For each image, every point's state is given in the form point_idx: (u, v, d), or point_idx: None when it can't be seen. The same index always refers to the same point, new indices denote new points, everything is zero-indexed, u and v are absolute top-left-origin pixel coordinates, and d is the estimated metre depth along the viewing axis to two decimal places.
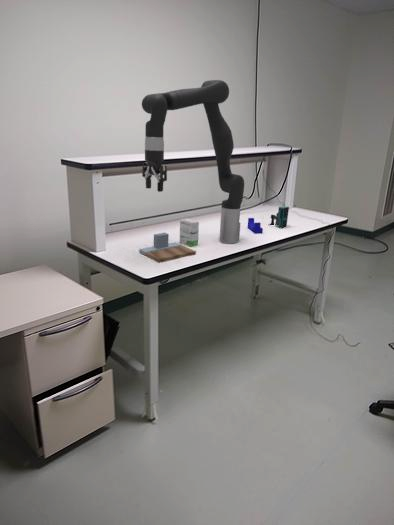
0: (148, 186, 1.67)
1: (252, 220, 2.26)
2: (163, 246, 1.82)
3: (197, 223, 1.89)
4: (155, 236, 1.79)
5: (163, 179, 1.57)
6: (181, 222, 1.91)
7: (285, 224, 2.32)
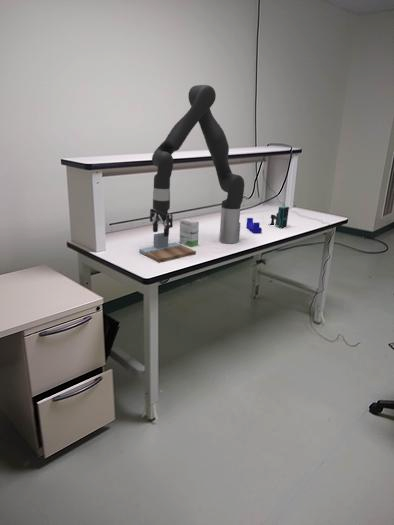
0: (155, 230, 1.83)
1: (251, 220, 2.25)
2: (163, 246, 1.82)
3: (197, 223, 1.89)
4: (155, 236, 1.79)
5: (169, 226, 1.74)
6: (181, 222, 1.91)
7: (285, 224, 2.32)
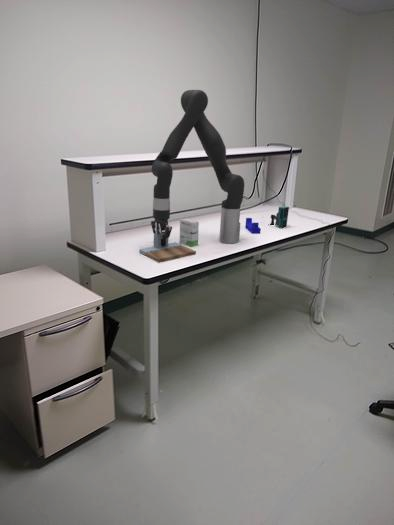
0: None
1: (250, 220, 2.25)
2: (163, 246, 1.82)
3: (197, 223, 1.89)
4: (155, 236, 1.79)
5: (166, 236, 1.77)
6: (181, 222, 1.91)
7: (285, 224, 2.32)
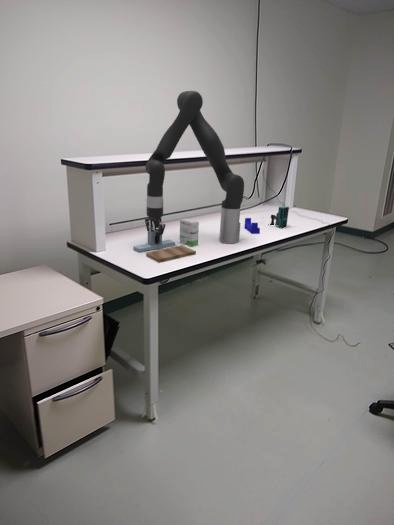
0: None
1: (249, 220, 2.25)
2: None
3: (197, 223, 1.89)
4: (149, 233, 1.83)
5: (159, 234, 1.81)
6: (181, 222, 1.91)
7: (285, 224, 2.32)
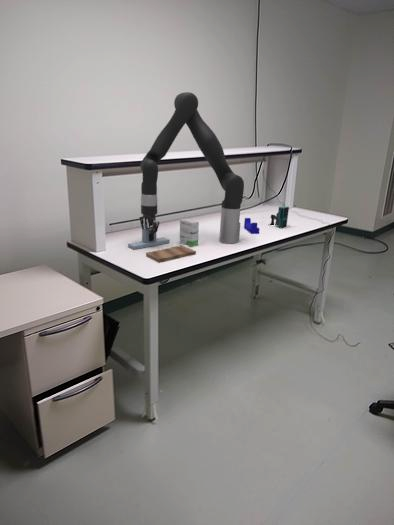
0: None
1: (248, 220, 2.25)
2: (151, 241, 1.89)
3: (197, 223, 1.89)
4: (143, 231, 1.86)
5: (154, 231, 1.84)
6: (181, 222, 1.91)
7: (285, 224, 2.32)
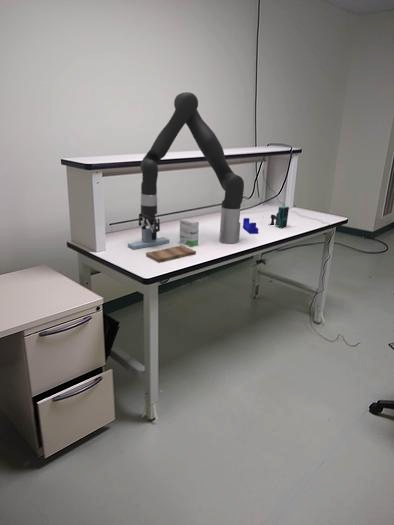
0: None
1: (247, 220, 2.25)
2: (151, 241, 1.89)
3: (197, 223, 1.89)
4: (143, 231, 1.86)
5: (156, 230, 1.82)
6: (181, 222, 1.91)
7: (285, 224, 2.32)
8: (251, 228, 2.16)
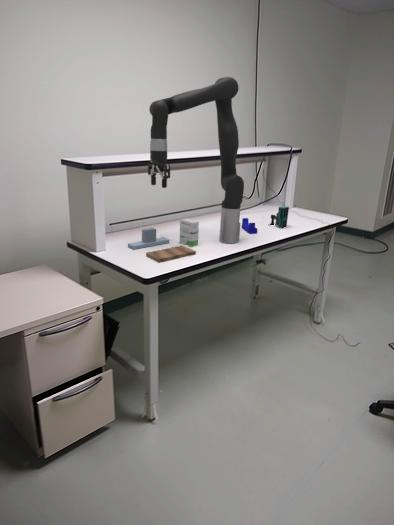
0: (153, 183, 1.85)
1: (246, 220, 2.25)
2: (151, 241, 1.89)
3: (197, 223, 1.89)
4: (143, 231, 1.86)
5: (167, 176, 1.75)
6: (181, 222, 1.91)
7: (285, 224, 2.32)
8: (250, 228, 2.15)
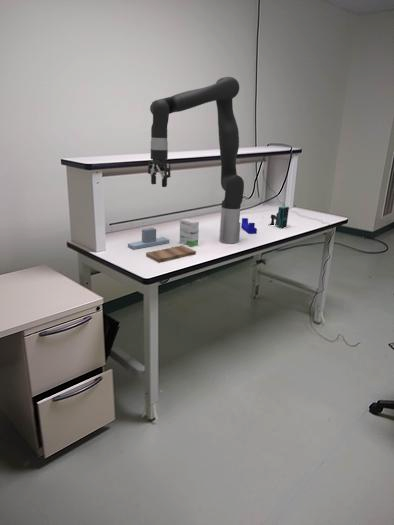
0: (153, 182, 1.84)
1: (246, 220, 2.25)
2: (151, 241, 1.89)
3: (197, 223, 1.89)
4: (143, 231, 1.86)
5: (167, 176, 1.75)
6: (181, 222, 1.91)
7: (285, 224, 2.32)
8: (250, 228, 2.15)
